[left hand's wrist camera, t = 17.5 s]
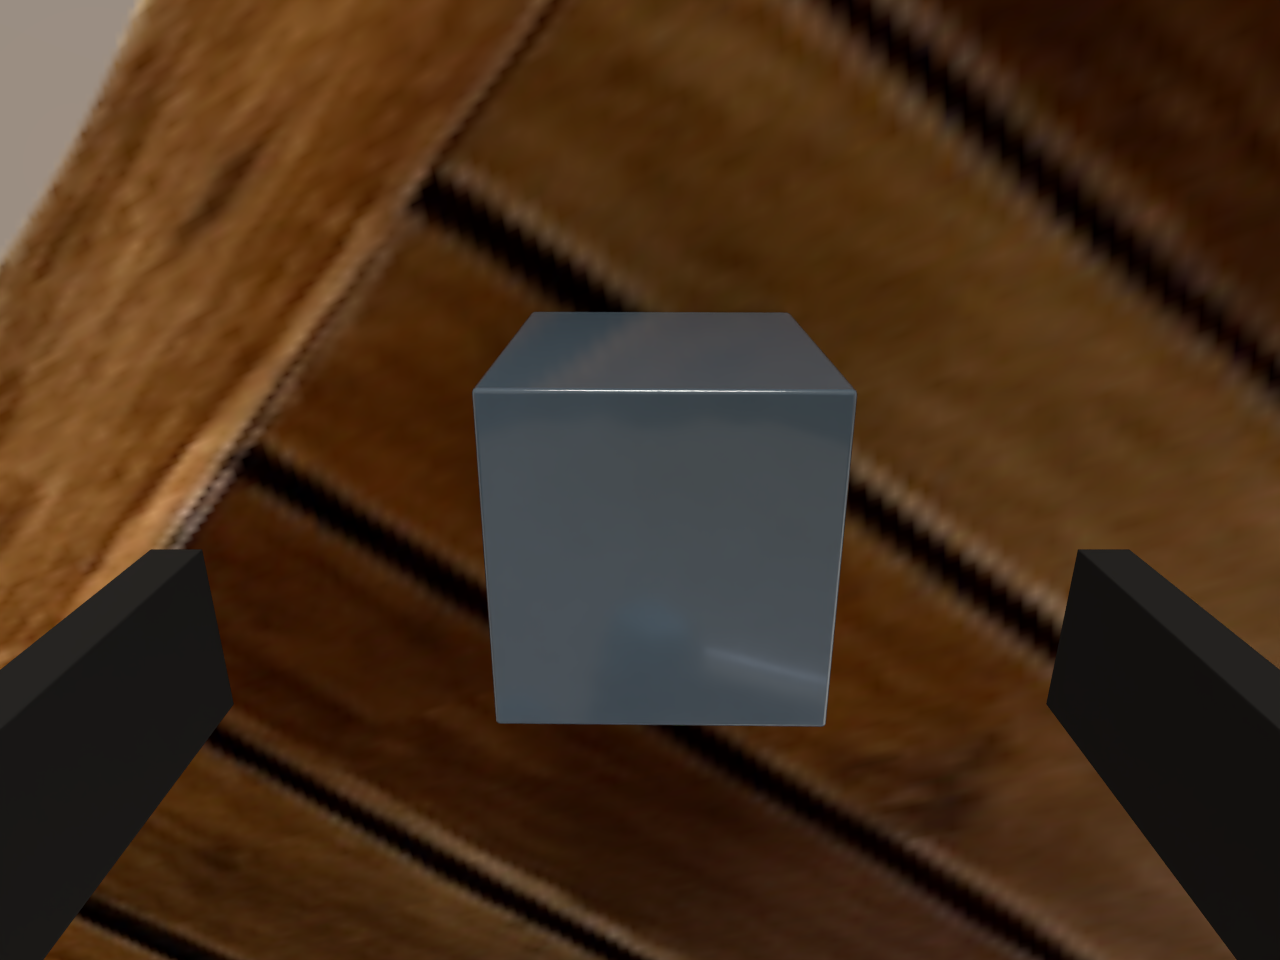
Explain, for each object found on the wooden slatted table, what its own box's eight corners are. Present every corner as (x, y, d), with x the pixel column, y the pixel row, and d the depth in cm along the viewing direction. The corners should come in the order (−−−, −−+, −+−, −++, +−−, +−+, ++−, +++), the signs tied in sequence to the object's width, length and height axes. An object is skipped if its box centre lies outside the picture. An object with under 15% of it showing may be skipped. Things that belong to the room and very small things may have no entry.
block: (790, 312, 20) (859, 390, 13) (774, 556, 22) (826, 728, 16) (531, 311, 20) (470, 388, 13) (542, 555, 23) (495, 724, 16)
